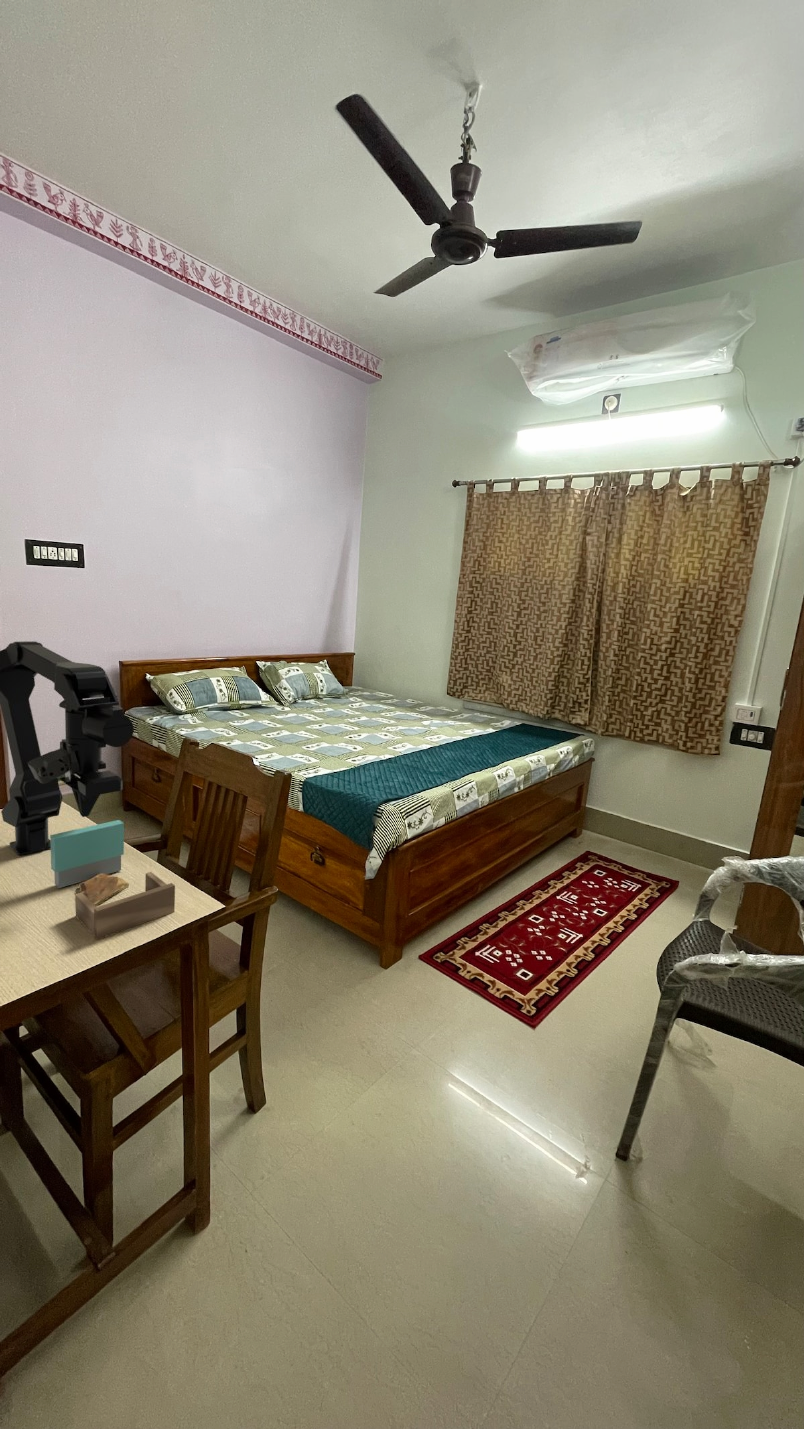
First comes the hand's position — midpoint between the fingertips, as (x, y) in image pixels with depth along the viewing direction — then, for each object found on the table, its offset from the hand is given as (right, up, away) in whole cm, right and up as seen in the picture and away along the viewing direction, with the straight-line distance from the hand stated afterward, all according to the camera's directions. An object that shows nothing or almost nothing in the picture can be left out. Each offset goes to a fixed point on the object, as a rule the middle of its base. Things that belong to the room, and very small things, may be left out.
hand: (84, 816), depth 106 cm
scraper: (0, -12, +1) cm, 12 cm away
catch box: (+12, -15, -8) cm, 21 cm away
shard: (+6, -14, -3) cm, 16 cm away
